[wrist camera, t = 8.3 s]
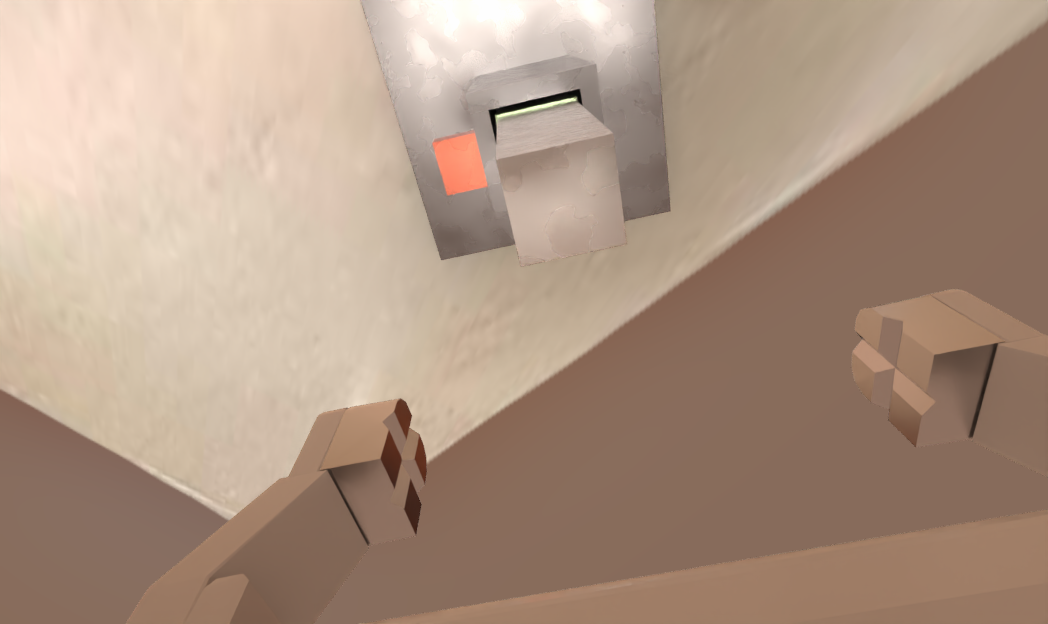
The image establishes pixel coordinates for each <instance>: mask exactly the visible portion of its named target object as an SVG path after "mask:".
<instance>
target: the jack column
mask: <svg viewBox="0 0 1048 624" xmlns="http://www.w3.org/2000/svg"><path fill="white" fill-rule="evenodd" d="M495 118H496V123H497V139H496V163H497V167H498V171H499V176H500V180H501V184H502V188H503V193H504V197H505V201H506V206H507V210H508V214H509V219H510V223H511V227H512V231H513V236H514V240H515V244H516V249H517V253H518V257H519V262H520V266H521V267H522V266H526V265H531V264H536V263H541V262H545V261H550V260H555V259H560V258H564V257H569V256H574V255H579V254H583V253H588V252H593V251H598V250H602V249H607V248H612V247H616V246H621V245H626V244H627V241H626V233H625V225H624V216H623V208H622V200H621V192H620V184H619V176H618V168H617V160H616V151H615V143H614V135H613V133H612V132H611V131H610V130H609V129H608V128H607V127H605V126H604V125H603V124H602V123H601V122H600V121H599V120H598V119H597V118H595V117H594V116H593V115H592V114H591V113H590V112H589V111H588V110H586V109H585V108H584V107H583V106H582V105H581V104H580V103H579V102H578V101H577V97H576V96H575V95H570V94H569V93H567V92H563V93H559V94H555V95H550V96H546V97H542V98H538V99H533V100H529V101H525V102H520V103H516V104H512V105H507V106H503V107H499V108H497V113H495Z"/></svg>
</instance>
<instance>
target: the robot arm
mask: <svg viewBox="0 0 1048 624" xmlns="http://www.w3.org/2000/svg"><path fill="white" fill-rule="evenodd" d="M855 332H856V333H857V334H858V335H859V336H860V337H861V338H862V340H861V342H860V343H859V344H858V345H857V347H856V348H855V349H854V350H853V351H852V362H851V369H852V373H853V376H854V379H855V383H856V384H857V386H858V388H859V390H860V391H861V393H862V394H863V395H864V396H865V397H866V398H867V399H868V400H869V401H870V402H871V403H873V404H875V405H878V406H880V407H883V408H886V409H888V410H889V414H888V421H889V422H890V423H891V424H892V425H893V426H894V427H896V428H897V430H898V431H900V432H901V433H902V435H904V436H905V437H906V438H907V439H908V440H909V441H910V442H911V443H912V444H913V445H914V446H915V447H923V446H930V445H936V444H943V443H950V442H955V441H963V440H969V439H972V442H974V443H976V444H978V445H980V446H982V447H984V448H986V449H988V450H990V451H993V452H995V453H997V454H999V455H1001V456H1003V457H1005V458H1008V459H1009V460H1012V461H1014V462H1016V463H1018V464H1020V465H1022V466H1024V467H1026V468H1029V469H1031V470H1033V471H1035V472H1037V473H1039V474H1041V475H1043V476H1046V477H1048V334H1047V335H1043V334H1042V333H1040V332H1038V331H1036V330H1035V329H1033V328H1031V327H1029V326H1027V325H1026V324H1024V323H1022V322H1020V321H1018V320H1017V319H1015V318H1013V317H1011V316H1009V315H1008V314H1006V313H1004V312H1002V311H1000V310H998V309H997V308H995V307H993V306H991V305H989V304H988V303H986V302H984V301H982V300H980V299H978V298H977V297H975V296H973V295H971V294H970V293H968V292H966V291H964V290H957V289H950V290H946V291H941V292H937V293H933V294H928V295H924V296H921V297H917V298H913V299H908V300H903V301H898V302H894V303H889V304H884V305H880V306H875V307H869V308H865V309H861V310H860V312H859V314H858V315H857V317H856V323H855ZM411 418H412V415H411V412H410V410H409V408H408V406H407V403H406V402H405V401H404V400H402V399H401V398H400V399H394V400H389V401H383V402H377V403H371V404H366V405H360V406H354V407H350V408H343V409H338V410H333V411H328V412H324V413H322V414H320V415H319V416H318V417H317V419H316V421H315V423H314V425H313V427H312V429H311V431H310V433H309V435H308V437H307V439H306V441H305V443H304V446H303V448H302V450H301V452H300V454H299V456H298V458H297V460H296V462H295V464H294V466H293V468H292V470H291V472H290V474H289V476H288V477H286V478H281V479H279V480H278V481H276V482H275V483H274V484H273V485H272V486H270V487H269V488H268V489H267V490H266V491H264V492H263V493H262V494H261V495H260V496H258V497H257V498H256V499H255V500H254V501H252V502H251V503H250V504H249V505H247V506H246V507H245V508H244V509H243V510H241V511H240V512H239V513H238V514H237V515H235V516H234V517H233V518H232V519H231V520H229V521H228V522H227V523H226V524H225V525H223V526H222V527H221V528H220V529H219V530H217V531H216V532H215V533H214V534H213V535H211V536H210V537H209V538H208V539H207V540H205V541H204V542H203V543H202V544H201V545H199V546H198V547H197V548H196V549H194V551H192V552H191V553H190V554H188V555H187V556H186V557H185V558H184V559H182V560H181V561H180V562H179V563H178V564H177V565H175V566H174V567H173V568H172V569H170V570H169V571H168V572H167V573H166V574H164V575H163V576H162V577H161V578H160V579H158V580H157V581H156V582H155V583H154V584H152V585H151V586H150V587H149V588H148V589H147V591H146V592H145V594H144V595H143V597H142V598H141V600H140V601H139V603H138V605H137V606H136V608H135V609H134V611H133V612H132V614H131V616H130V617H129V619H128V620H127V622H126V624H314V623H315V621H316V620H317V619H318V617H319V616H320V615H321V613H322V612H323V611H324V609H325V608H326V607H327V605H328V604H329V602H330V601H331V600H332V598H333V597H334V595H335V594H336V593H337V592H338V590H339V589H340V587H341V586H342V585H343V583H344V582H345V581H346V579H347V578H348V576H349V575H350V573H351V572H352V571H353V570H354V568H355V567H356V565H357V564H358V563H359V561H360V560H361V559H362V557H363V556H364V554H365V553H366V552H367V551H368V549H369V547H368V546H370V545H375V544H380V543H384V542H389V541H394V540H399V539H404V538H409V537H414V536H416V534H417V528H418V523H419V517H420V511H421V505H422V504H421V502H420V500H419V497H418V495H417V493H418V492H419V491H420V490H421V489H422V488H423V486H424V485H425V481H426V475H427V463H426V454H425V449H424V445H423V442H422V440H421V437H420V434H418V433H417V432H415V431H414V430H412V429H411V428H409V427H410V422H411ZM362 624H1048V509H1045V510H1040V511H1033V512H1027V513H1022V514H1016V515H1010V516H1003V517H997V518H991V519H985V520H980V521H973V522H967V523H961V524H955V525H949V526H943V527H937V528H931V529H925V530H919V531H913V532H907V533H901V534H895V535H889V536H883V537H877V538H871V539H865V540H859V541H853V542H847V543H841V544H834V545H828V546H822V547H816V548H810V549H805V550H799V551H792V552H787V553H780V554H774V555H768V556H763V557H757V558H750V559H744V560H738V561H733V562H727V563H721V564H715V565H709V566H703V567H697V568H691V569H685V570H679V571H673V572H667V573H661V574H655V575H649V576H643V577H637V578H631V579H625V580H619V581H613V582H607V583H601V584H596V585H589V586H583V587H577V588H571V589H565V590H559V591H553V592H547V593H541V594H535V595H529V596H523V597H517V598H511V599H505V600H499V601H493V602H487V603H481V604H475V605H470V606H463V607H458V608H451V609H445V610H439V611H433V612H427V613H422V614H415V615H409V616H404V617H397V618H391V619H385V620H379V621H373V622H367V623H362Z"/></svg>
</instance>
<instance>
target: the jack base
mask: <svg viewBox="0 0 1048 624" xmlns="http://www.w3.org/2000/svg"><path fill="white" fill-rule="evenodd" d="M361 3H362V6H363V10H364V13H365V16H366V19H367V23H368V26H369V29H370V32H371V35H372V39H373V42H374V45H375V48H376V51H377V55H378V58H379V61H380V64H381V68H382V71H383V74H384V77H385V80H386V84H387V87H388V90H389V93H390V97H391V100H392V103H393V106H394V109H395V113H396V116H397V119H398V122H399V126H400V129H401V132H402V135H403V138H404V142H405V145H406V148H407V151H408V155H409V158H410V161H411V164H412V167H413V171H414V174H415V177H416V180H417V184H418V187H419V190H420V193H421V196H422V200H423V203H424V206H425V209H426V212H427V216H428V219H429V222H430V225H431V229H432V232H433V235H434V238H435V241H436V245H437V248H438V251H439V254H440V258H441V260H444V259H449V258H454V257H458V256H463V255H468V254H472V253H477V252H482V251H486V250H491V249H496V248H500V247H505V246H510V245H514V244H515V240H514V236H513V231H512V227H511V223H510V219H509V214H508V210H507V206H506V201H505V197H504V193H503V188H502V184H501V180H500V176H499V171H498V167H497V163H496V139H497V123H496V118H495V113H497V108H499V107H503V106H507V105H512V104H516V103H520V102H525V101H529V100H533V99H538V98H542V97H546V96H550V95H555V94H559V93H563V92H567V93H569V94H570V95H575V96H576V97H577V101H578V102H579V103H580V104H581V105H582V106H583V107H584V108H585V109H586V110H588V111H589V112H590V113H591V114H592V115H593V116H594V117H595V118H597V119H598V120H599V121H600V122H601V123H602V124H603V125H604V126H605V127H607V128H608V129H609V130H610V131H611V132H612V133H613V135H614V143H615V151H616V160H617V168H618V176H619V184H620V192H621V200H622V208H623V216H624V221H627V220H631V219H636V218H641V217H645V216H650V215H655V214H659V213H664V212H669V211H670V198H669V186H668V173H667V160H666V147H665V134H664V121H663V108H662V95H661V82H660V70H659V57H658V44H657V31H656V18H655V5H654V0H361Z"/></svg>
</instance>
